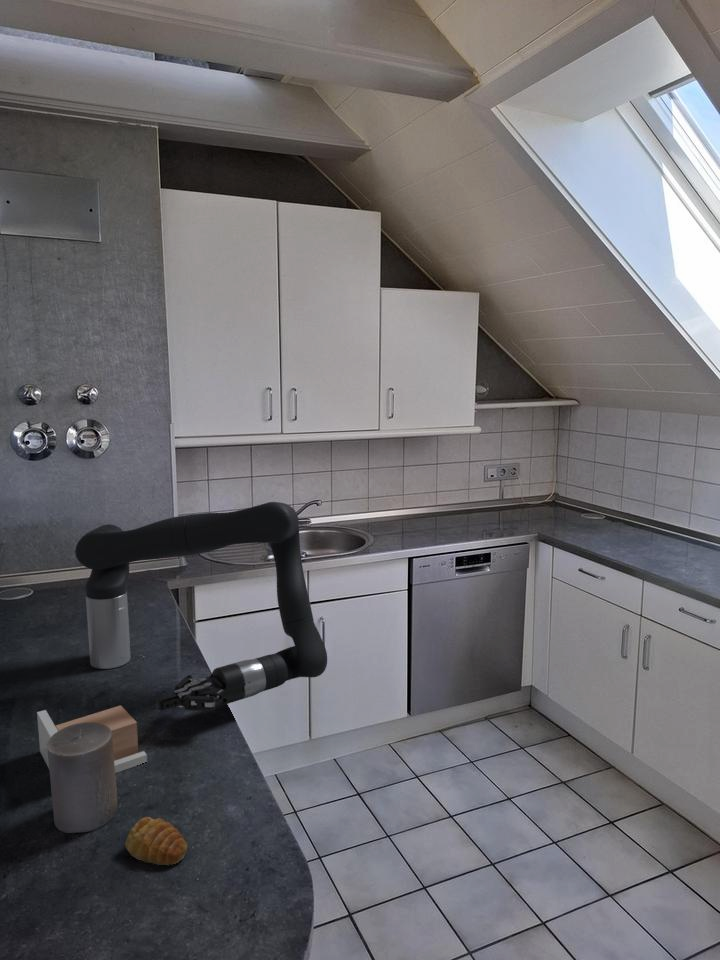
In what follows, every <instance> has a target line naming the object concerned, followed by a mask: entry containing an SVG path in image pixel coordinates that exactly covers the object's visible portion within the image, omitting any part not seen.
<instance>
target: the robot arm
mask: <svg viewBox="0 0 720 960" xmlns="http://www.w3.org/2000/svg"><path fill="white" fill-rule="evenodd" d="M299 522H300V521H299V516H298V514H297V511H296V510H295V508H293V507H292V506H291V505H289V504H287V503H284V502H277V501H269V502H266V503H262V504H258V505H255V506H251V507H247V508H243V509H239V510H235V511H230V512H229V511H227V512H204V513H203V512H202V513H194V514H193V513H192V514H186V515H179V516H174V517H169V518H165V519H161V520H158V521H155V522H153V523H149V524H146V525H144V526H140V527H138V528H134V529H130V530H129V529H128V530H123V529H121V527H120V526H117V525H115V524H111V523H109V524H102V525H100V526H98V527H96V528H94V529H91V530H90V531H87V532H86V533H85V534H84V535H83V536H82V537H80V539H79V540H78V541H77V543H76V545H75V546H76V547H75V550H74V551H75V553H74V554H75V557H76V559H77V561H78V562H79V563H80V565H82V566H83V567H85V568H88V569H90V570H91V571H90V575H89V577H88V580H87V581H86V582H85V590H84V591H85V604H86V605H85V606H86V617H87V632H88V633H87V634H88V647H89V648H88V650H89V652H88V653H89V663H90V666H91V667H92V668H95V669H98V670H99V669H100V670H108V669H109V670H110V669H114V668H119V667H122V666H124V665H126V664H128V663H129V662H130V661H131V659H132V658H131V645H130V644H131V642H130V641H131V640H130V625H129V623H130V622H129V603H128V581H129V579H130V563H134V562H139V561H149V560H162V559H169V558H170V559H172V558H180V557H188V556H196V555H201V554H205V553H209V552H213V551H217V550H219V549H223V548H226V547H230V546H233V545H240V544H242V545H243V544H269V547H270V548H271V552H272V554H273V559H274V563H275V564H274V565H275V570H276V597H277V606H278V610H279V611H278V612H279V615H280V619H281V624H282V628H283V632H284V634H286V636H288V637H290V638H291V640H292V641H293V644H294V646H290V647H287V648H284V649H282V650H279V651H277V652H275V653H271V654H266V655H263V656H260V657H256V658H252V659H244V660H240V661H236V662H233V663H230V664H225V665H223V666H219V667H215V668H214V669H213V671H212V672H211V675H210V676H203V677H200V678H198V679H195V678H193V675H191V674H188V675H186V676H185V677H184V678H183V679H181V680H180V681H179V682H178V683H177V684H176V685H174V686H173V687H174V688H173V693H169V694H166V695H162V696H159V697H157V698H156V700H155V703H156V708H157V709H158V710H159V711H160V712H162V711H166V710H169V709H173V708H175V707H178V708H184V710H185V711H202V712H203V711H207V712H211V711H215V710H216V704H217V703H218V704H220V705H223V706H224V705H229V704H231V703H234V702H239V701H240V700H244V699H248V698H250V697H254V696H256V695H258V694H260V693H262V692H265V691H268V690H272V689H275V688H278V687H280V686H282V685H283V684H285V682H287V681H291V680H293V679H299V678H317V677H320V676H321V675H322V674H323V673H324V672H325V670H326V669H327V665H328V653H327V650H326V646H325V643H324V641H323V639H322V637H321V635H320V632H319V630H318V628H317V626H316V624H315V621H314V616H313V611H312V607H311V602H310V598H309V597H310V596H309V593H308V588H307V584H306V578H305V574H304V569H303V562H302V553H301V544H300V543H301V541H300V540H301V539H300V525H299V524H300V523H299Z"/></svg>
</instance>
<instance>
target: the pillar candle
mask: <svg viewBox="0 0 720 960" xmlns="http://www.w3.org/2000/svg"><path fill="white" fill-rule="evenodd" d="M47 750H48V761H49V768H48V770H49V779H50V780H49V781H50V791H51V792H50V793H51V802H52V811H53V812H52V813H53V821H54V826H55V828H57V829H58V830H59V831H60V832H63V833H65V834H73V833H74V834H75V833H76V834H77V833H88V832H92V831H95V830H98V829H100V828H101V827H103V826H105V825H106V824H108V823H109V822H110V821H111V820H112V819H113V818H114V817H115V815H116V813H117V812H118V808H119V806H118V805H119V802H118V789H117V779H116V777H117V776H116V775H117V774H116V773H115V765H114V753H113V742H112V732H111V729H110V728H109V727H108V726H107V725H104V724H101V723H97V722H96V723H95V722H85V723H78V724H74V725H71V726H68V727H65V728H63V729H61V730H59V731H58V732H56V733H55V734H54V735H53V736H52V737H51V738H50V739H49V741H48V743H47Z"/></svg>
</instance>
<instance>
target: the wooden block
mask: <svg viewBox="0 0 720 960" xmlns="http://www.w3.org/2000/svg"><path fill="white" fill-rule="evenodd" d="M85 722H95V723H96V722H97V723H101V724H104V725H107V726H108V727H109V728H110V729H111V732H112V742H113V753H114V761H116V760H119V759H122V758H125V757H128V756H131V755H134V754H137V753H139V736H138V722H137V721H136V720H135V719H134V718H133V717H132V715H130V713H128V711H127V710H126V709H125V708H124V707H123V706H122V705H117V706H115V707H111V708H107V709H104V710H102V711H101V710H100V711H98V712H95V713H93V714H89V715H85V716H82V717H79V718H75V719H72V720H70V721H67V722H62V723H60V724H57V725H55V727H56V728H57V730H58V731H59V730H61V729H63V728H65V727H68V726H71V725H74V724H78V723H85Z"/></svg>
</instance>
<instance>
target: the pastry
mask: <svg viewBox="0 0 720 960" xmlns="http://www.w3.org/2000/svg"><path fill="white" fill-rule="evenodd" d="M124 845H125V848H126V850H127V852H128V853H129V855H131V857H132V858H133V857H134V859H136V860H137V859H138V860H137V861H139V860H142V861H146V862H145V863H147V862H151V863H157V864H161V865H167V866H170V865H169V864H175V865H176V863H177V864H179V863H180V861H181V860H183V859H184V858H185V856H186V852H187V850H188V843H187V842H186V841H185V839H184V835H182V834H181V833H180V832H179V830H178V828H175V826H174V825H173V824H171V823H170V822H168V821H167V822H166V820H164V819H162V818H160V817H158V818H155V819H154V818H152V817H150V816H145V817H142V818H141V819H140V820H138V821H137V822H135V824H134V825H133V827H132V828H131V829H130V830H129V833H128V835H127V837H126V840H125V844H124ZM142 861H141V862H142Z"/></svg>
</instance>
